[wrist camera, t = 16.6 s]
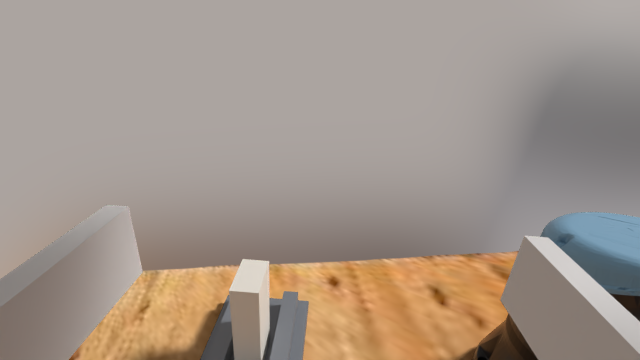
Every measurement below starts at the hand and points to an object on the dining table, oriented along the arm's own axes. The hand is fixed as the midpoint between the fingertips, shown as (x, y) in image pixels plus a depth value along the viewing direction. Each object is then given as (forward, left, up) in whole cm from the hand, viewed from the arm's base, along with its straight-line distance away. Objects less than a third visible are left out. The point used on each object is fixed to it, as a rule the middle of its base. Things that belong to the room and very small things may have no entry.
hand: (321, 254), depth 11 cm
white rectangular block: (-1, -19, -29) cm, 34 cm away
